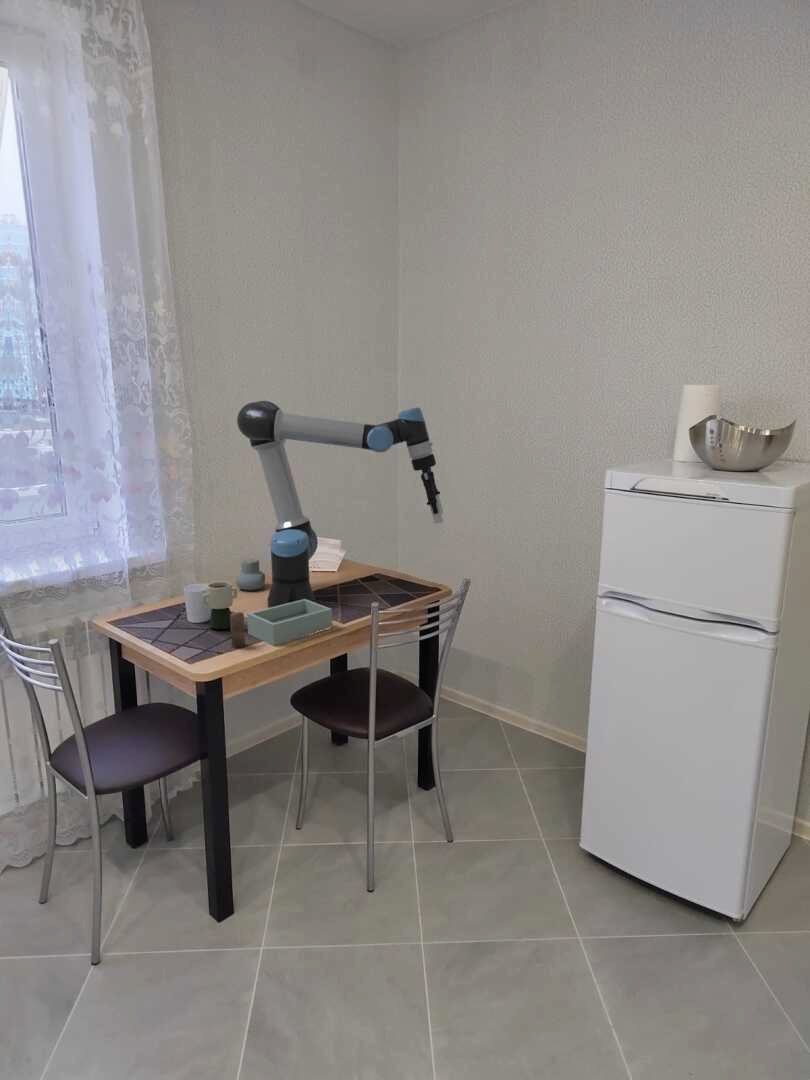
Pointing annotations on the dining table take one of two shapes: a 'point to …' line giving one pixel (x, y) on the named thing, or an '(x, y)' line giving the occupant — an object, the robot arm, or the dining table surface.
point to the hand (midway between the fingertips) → (439, 518)
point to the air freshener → (250, 575)
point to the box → (288, 621)
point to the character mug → (219, 603)
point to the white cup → (196, 603)
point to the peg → (237, 630)
